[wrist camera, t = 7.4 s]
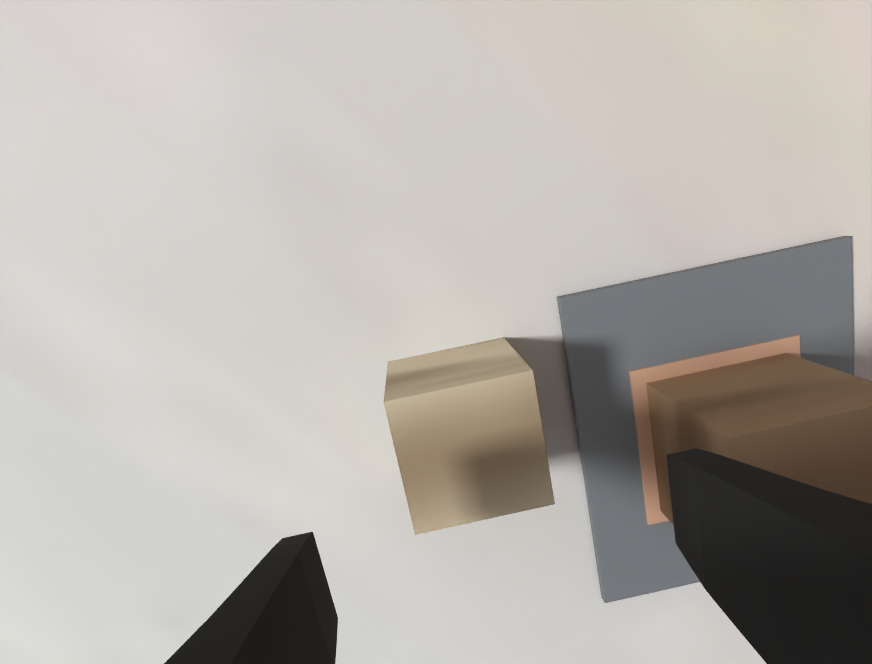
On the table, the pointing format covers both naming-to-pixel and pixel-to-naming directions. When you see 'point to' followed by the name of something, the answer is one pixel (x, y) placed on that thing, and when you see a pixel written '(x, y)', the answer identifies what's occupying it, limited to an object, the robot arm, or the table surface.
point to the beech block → (467, 434)
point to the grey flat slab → (679, 355)
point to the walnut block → (769, 422)
